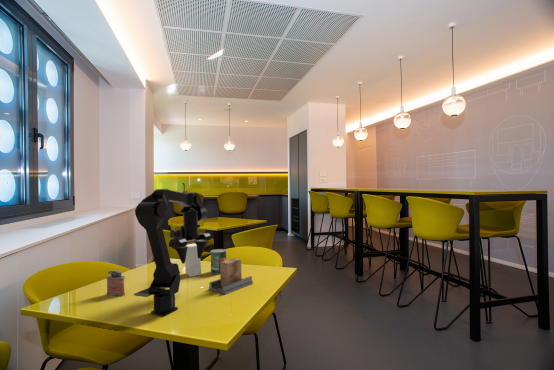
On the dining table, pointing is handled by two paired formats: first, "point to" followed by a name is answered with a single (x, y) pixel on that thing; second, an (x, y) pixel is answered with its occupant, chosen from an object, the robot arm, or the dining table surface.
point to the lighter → (115, 283)
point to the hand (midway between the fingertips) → (191, 260)
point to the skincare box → (192, 261)
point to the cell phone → (145, 292)
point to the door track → (229, 285)
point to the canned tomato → (217, 260)
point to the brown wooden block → (230, 271)
